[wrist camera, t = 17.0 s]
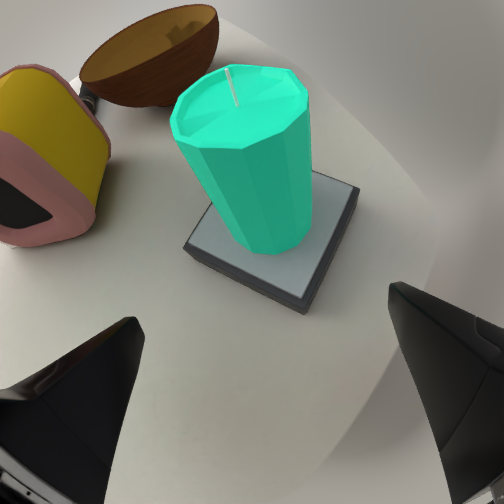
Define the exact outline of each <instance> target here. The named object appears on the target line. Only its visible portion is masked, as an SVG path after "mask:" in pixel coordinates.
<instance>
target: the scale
mask: <svg viewBox="0 0 504 504" xmlns="http://www.w3.org/2000/svg"><path fill="white" fill-rule="evenodd" d="M359 192H360V189H359V188H357V187H355V186H352V185H350V184H347V183H345V182H342V181H339V180H337V179H334V178H332V177H329V176H326V175H323V174H321V173H318V172H315V171H312V219H311V228H310V230H309V231H308V232H307V234H306V235H305V236H304V238H303V239H302V240H301V242H300V243H299V244H298V246H295V247H293V248H291V249H289V250H286V251H284V252H282V253H279V254H277V255H271V254H258V253H252V252H251V251H249V250H248V249H247V248H245V247H244V246H242V245H241V244H239V243H238V242H237V241H235V239H234V237H233V236H232V234H231V232H230V231H229V229H228V227H227V226H226V224H225V223H224V221H223V219H222V218H221V216H220V214H219V213H218V211H217V209H216V208H215V206H214V204H213V203H212V202H211V204H210V205H209V207H208V208H207V210H206V211H205V213H204V215H203V216H202V218H201V219H200V221H199V222H198V224H197V226H196V227H195V229H194V230H193V232H192V234H191V235H190V237H189V238H188V240H187V242H186V243H185V245H184V247H183V249H184V250H185V251H186V252H187V253H188V254H189V255H191V256H192V257H193V258H194V259H195V260H197V261H199V262H201V263H203V264H205V265H207V266H208V267H210V268H212V269H214V270H216V271H218V272H220V273H222V274H224V275H226V276H228V277H230V278H231V279H233V280H235V281H237V282H239V283H241V284H243V285H245V286H247V287H249V288H251V289H253V290H255V291H257V292H259V293H261V294H263V295H265V296H267V297H269V298H271V299H273V300H275V301H277V302H279V303H281V304H283V305H285V306H287V307H289V308H291V309H293V310H295V311H297V312H299V313H301V314H303V315H305V314H306V312H307V310H308V308H309V306H310V304H311V302H312V300H313V298H314V296H315V294H316V292H317V290H318V288H319V286H320V284H321V282H322V280H323V278H324V276H325V274H326V272H327V270H328V267H329V265H330V263H331V261H332V259H333V257H334V255H335V252H336V250H337V248H338V246H339V244H340V241H341V239H342V237H343V235H344V232H345V230H346V228H347V225H348V223H349V221H350V218H351V216H352V214H353V211H354V209H355V207H356V204H357V200H358V196H359Z"/></svg>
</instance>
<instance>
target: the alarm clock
mask: <svg viewBox="0 0 504 504" xmlns="http://www.w3.org/2000/svg"><path fill="white" fill-rule="evenodd" d="M110 157H111V142H110V139H109V137H108V135H107V133H106V132H105V130H104V128H103V126H102V125H101V124H100V122H99V121H98V120H97V119H96V117H95V116H94V115H93V114H92V112H91V111H90V110H89V109H88V107H87V106H86V105H85V104H84V102H83V101H82V100H81V99H80V97H79V96H78V95H77V94H76V92H75V91H74V90H73V88H72V87H71V86H70V85H69V83H68V82H67V81H66V80H64V79H63V78H62V77H61V76H60V75H59V74H58V73H56V72H55V71H54V70H52V69H49V68H46V67H44V66H41V65H38V64H28V65H18V66H15V67H14V68H12V69H10V70H8V71H7V72H5V73H3V74H2V75H0V241H1V242H4V243H7V244H10V245H14V246H20V247H36V246H40V245H44V244H49V243H53V242H57V241H62V240H66V239H71V238H74V237H76V236H79V235H81V234H83V233H85V232H87V231H88V230H89V228H90V227H91V225H92V224H93V222H94V220H95V218H96V215H95V206H96V202H97V198H98V193H99V189H100V185H101V182H102V178H103V174H104V170H105V167H106V163H107V162H108V160H109V159H110Z"/></svg>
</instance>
